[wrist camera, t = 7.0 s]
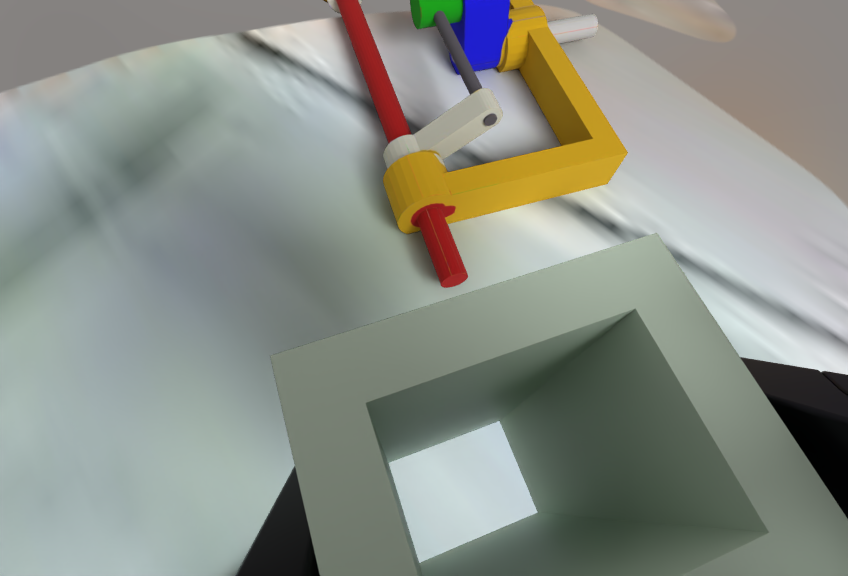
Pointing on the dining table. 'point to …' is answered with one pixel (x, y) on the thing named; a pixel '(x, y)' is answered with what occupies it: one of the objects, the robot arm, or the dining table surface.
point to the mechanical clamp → (485, 119)
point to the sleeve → (561, 431)
